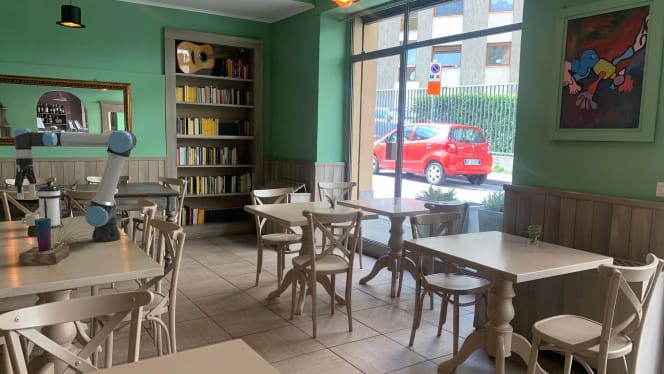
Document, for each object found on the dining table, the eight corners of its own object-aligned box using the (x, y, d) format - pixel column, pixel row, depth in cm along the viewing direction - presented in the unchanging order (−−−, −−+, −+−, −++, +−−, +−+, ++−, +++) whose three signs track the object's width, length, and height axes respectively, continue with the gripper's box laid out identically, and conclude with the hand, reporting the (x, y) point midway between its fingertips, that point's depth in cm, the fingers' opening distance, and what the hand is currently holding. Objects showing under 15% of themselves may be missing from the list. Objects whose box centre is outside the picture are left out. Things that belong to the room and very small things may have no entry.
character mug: (44, 234, 306) (43, 212, 304) (43, 236, 299) (42, 214, 298) (23, 235, 301) (21, 214, 299) (22, 238, 294) (21, 216, 293)
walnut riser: (69, 255, 254) (68, 245, 253) (56, 263, 238) (55, 253, 238) (34, 256, 252) (34, 246, 251) (19, 265, 236) (19, 254, 236)
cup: (36, 252, 240) (34, 220, 238) (37, 249, 246) (35, 218, 244) (52, 250, 243) (50, 219, 241) (53, 247, 249) (51, 217, 247)
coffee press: (58, 229, 320) (55, 182, 316) (33, 229, 320) (30, 182, 317) (72, 224, 337) (70, 179, 334) (48, 224, 337) (46, 179, 334)
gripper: (27, 156, 279) (29, 194, 282) (4, 158, 255) (7, 200, 257) (41, 156, 280) (44, 194, 283) (20, 158, 256) (23, 200, 258)
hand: (26, 197), depth 270 cm, fingers open, 13 cm apart
